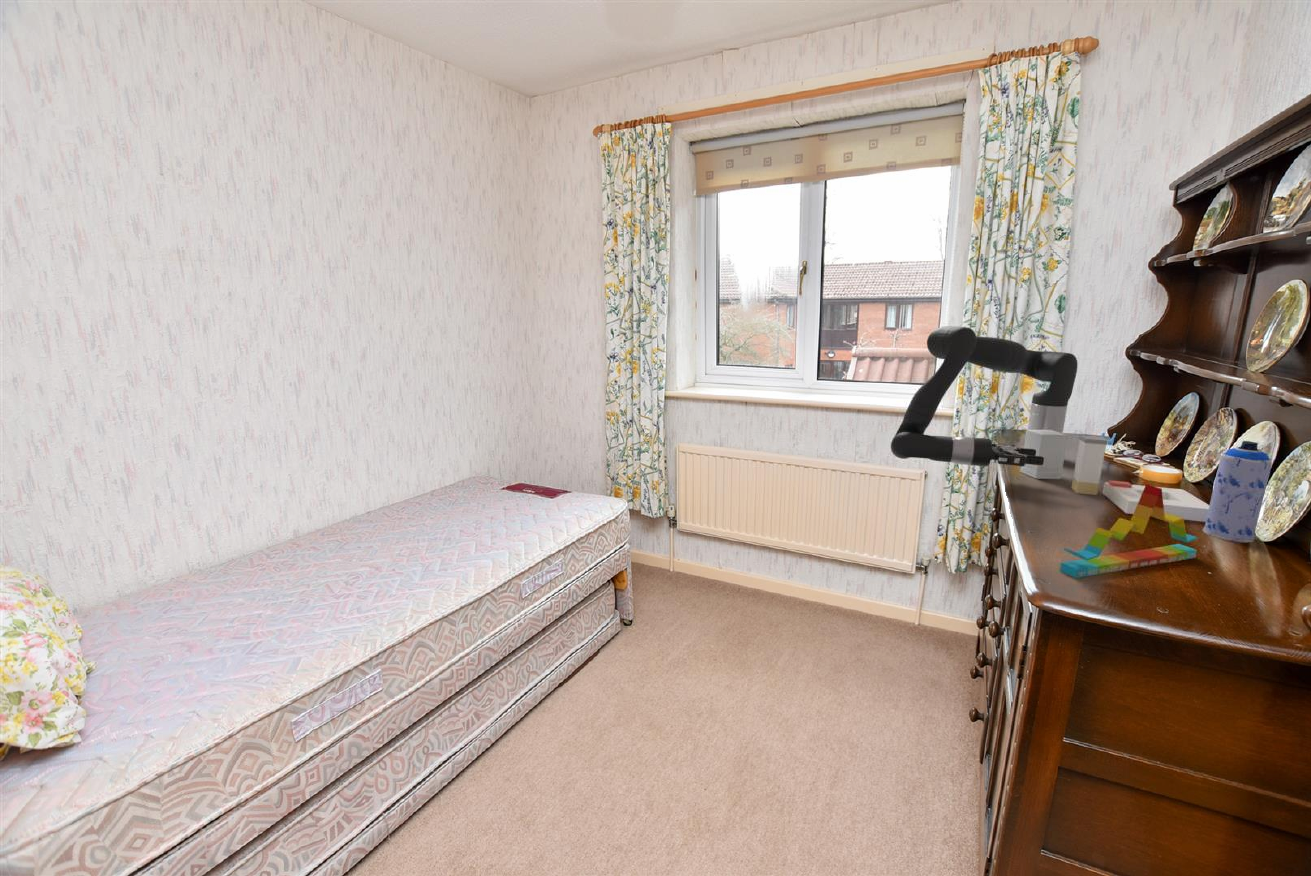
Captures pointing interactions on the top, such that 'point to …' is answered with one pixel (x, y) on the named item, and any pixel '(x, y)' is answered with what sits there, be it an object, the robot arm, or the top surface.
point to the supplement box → (1046, 453)
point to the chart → (1145, 508)
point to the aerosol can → (1238, 493)
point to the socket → (1173, 500)
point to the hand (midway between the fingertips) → (1039, 457)
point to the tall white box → (1089, 464)
